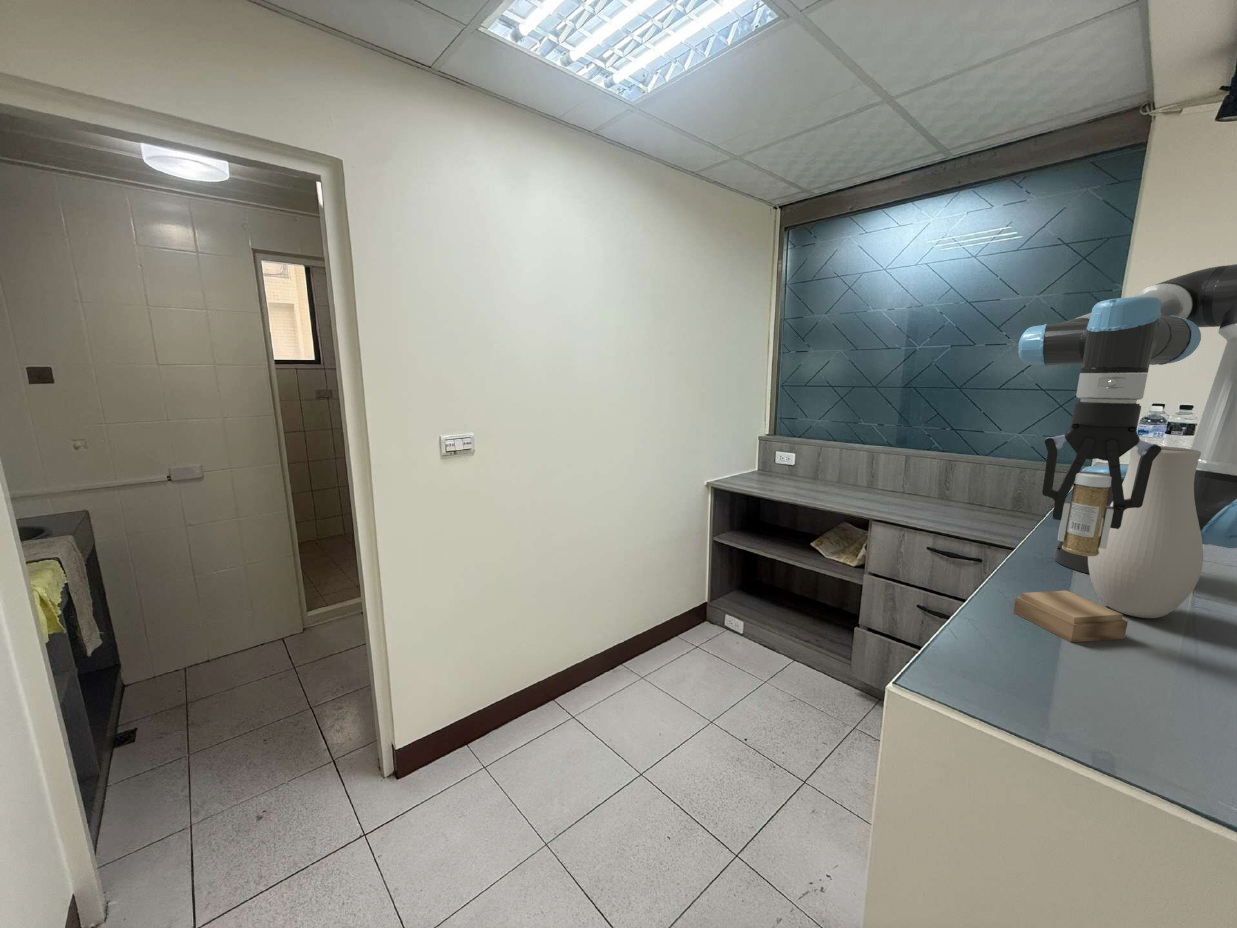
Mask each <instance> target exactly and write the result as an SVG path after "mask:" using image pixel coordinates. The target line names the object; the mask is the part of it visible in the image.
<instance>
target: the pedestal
mask: <svg viewBox="0 0 1237 928" xmlns="http://www.w3.org/2000/svg"><path fill="white" fill-rule="evenodd" d="M1014 600H1015V602H1014V607H1013V614H1015V615H1016V616H1019V617H1021V618H1023V619H1025V620H1026V621H1028V622H1031V623H1032V624H1034V625H1037V626H1038V627H1040V628H1042V629H1044V630H1046V631H1048V632H1050V633H1052V634H1053V635H1055V636H1058V637H1060V638H1061V639H1063V640H1065V641H1067V642H1069V643H1082V642H1083V643H1085V642H1093V641H1094V642H1096V641H1110V640H1120V639H1125V637H1126V632H1127V628H1128V627H1127V626H1128V623H1129V622H1128V621H1127V620H1125V619H1123V616H1124V614H1123V613H1120V612H1118V611H1116V610H1113V609H1112V608H1110V607H1109V608H1108V607H1106V606H1104V605H1102V604H1099V603H1097V602H1094V601H1092V600H1090V599H1087V598H1085V597H1082V596H1080V595H1077V594H1075V593H1073V592H1070V591H1069V590H1052V591H1048V590H1047V591H1036V592H1035V591H1033V592H1032V591H1031V592H1021V596H1016V597H1015V599H1014Z"/></svg>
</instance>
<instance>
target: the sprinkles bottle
mask: <svg viewBox="0 0 1237 928" xmlns="http://www.w3.org/2000/svg"><path fill="white" fill-rule="evenodd" d="M1111 479H1112V477H1111V476H1110V475H1109V474H1105V473H1098V472H1087V471H1081V470H1080V471H1079V473H1077V474H1076V477H1075V481H1074V483H1073V485H1072V487H1073V488H1072V492H1071V497H1070V500H1069V501H1070V509H1069V514H1068V520H1067V525H1066V531H1065V538H1064V544H1063V546H1062V549H1063V550H1065V551H1067V552H1069V553H1072V554H1076V555H1081V556H1097V555H1098V554H1099V544H1100V539H1101V536H1102V531H1103V525H1104V520H1105V518H1104V517H1105V511H1106V506H1107V501H1108V493H1109V490H1110V487H1111Z"/></svg>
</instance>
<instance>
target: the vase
mask: <svg viewBox="0 0 1237 928" xmlns="http://www.w3.org/2000/svg"><path fill="white" fill-rule="evenodd" d="M1159 446H1160V447H1161V449H1162V450H1161V452H1160V453H1159V454H1158V455H1157V457H1156V458H1155V459H1154V460H1153V462H1152V467H1151V471H1150V475H1149V479H1148V484H1147V488H1146V492H1145V496H1144V500H1143V505H1142V506H1141V507H1139V508H1128V509H1126V510H1124V512H1123V517H1122V522H1121V527H1120V528H1119V529H1114V528H1110V532H1109V537H1108V542H1107V547H1106V549H1103V548H1099V554H1098V555H1097V556H1088V567H1089V573H1090V574H1089V577H1090V580H1091V584H1092V586H1093V589H1094V591H1095V593H1096V594H1097V596H1098V598H1099V600H1100V601H1101V602H1103V603H1104V605H1106V606H1107V608H1108V607H1109V609H1111V610H1114V611H1116V612H1118V613H1121V614H1123V615H1127V616H1130V617H1135V618H1142V619H1157V618H1161V617H1165V616H1167V615H1168V614H1170V613H1172V612H1173V611H1175V610H1176V609H1177V608H1179V606H1180V605H1181V604H1183V603H1184V602H1185V601H1186V600H1187V598H1188V597H1189V596H1190V595H1191V594H1192V592H1193V590H1195V588H1196V586H1197V583H1198V581H1199V580H1200V577H1201V574H1202V570H1203V564H1204V563H1203V562H1204V544H1202V537H1201V531H1200V527H1199V522H1198V517H1197V512H1196V507H1195V500H1194V477H1195V472H1196V468H1197V464H1198V461H1199V459H1200V456H1201V452H1200V451H1197V450H1193V449H1191V448H1186V447H1185V448H1184V447H1177V446H1176V447H1175V446H1164V445H1163V446H1162V445H1159ZM1129 451H1130V454H1129V462H1128V470H1127V473H1126V476H1125V479H1124V481H1123V483H1122V486H1123V494H1124V499H1130V498H1131V494H1132V490H1133V485H1134V481H1135V477H1136V472H1137V468H1138V464H1139V460H1140V457H1141V456H1140V455H1139V454H1138V453H1137V451H1138V447H1137V446H1134V447H1133V448H1132V449H1130V450H1129ZM1110 506H1113V502H1112V503H1111V505H1110Z"/></svg>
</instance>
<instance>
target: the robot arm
mask: <svg viewBox="0 0 1237 928" xmlns="http://www.w3.org/2000/svg"><path fill="white" fill-rule="evenodd" d="M1210 327H1211V328H1213V327H1214V328H1215V327H1219V328H1218V332H1217V333H1218V334H1219V335H1220V336H1221V337H1222V338H1224V339H1225V340H1226V344H1225V347H1224V350H1223V352H1222V356H1221V359H1220V362H1219V363H1218V368H1217V370H1216V373H1215V377H1214V380H1213V383H1212V385H1211V389H1210V391H1209V394H1208V397H1207V400H1206V403H1205V406H1204V410H1203V412H1202V414H1201V418H1200V420H1199V421H1200V422H1199V424H1198V426H1197V430H1196V433H1195V436H1194V438H1193V442H1192V445H1191V447H1190V449H1193V450H1197V451H1200V452H1201V456H1200V459H1199V461H1198V464H1197V468H1196V472H1195V477H1194V500H1195V507H1196V512H1197V517H1198V522H1199V527H1200V531H1201V537H1202V544H1203V546H1204V545H1205V546H1206V545H1209V546H1210V545H1211V546H1216V547H1222V548H1226V549H1237V263H1235V264H1228V265H1227V264H1226V265H1218V266H1213V267H1208V268H1204V269H1200V270H1195V271H1192V272H1189V273H1185V274H1182V275H1179V276H1177V277H1173V278H1170V279H1168V280H1165V281H1162V282H1159V283H1156V284H1153V285H1150V286H1148V287H1145V288H1143V289H1142V290H1140V291H1139V292H1138V293H1136V294H1135V295H1134V296H1132V297H1131V296H1130V297H1119V298H1111V299H1106V300H1101V301H1099V302H1097V303H1096V304H1095V305H1093V307H1092V309H1091V312H1089V313H1087V314H1084V315H1083V314H1082V315H1081V316H1078V317H1076V318H1072V319H1067V320H1066V321H1062V322H1058V323H1053V324H1050V323H1044V324H1042V325H1034V326H1030V327H1028V328H1027V329H1026V330H1025V331H1024V332H1023V333H1022V335H1021V336H1020V339H1019V341H1018V357H1019V359H1020V360H1021V362H1022V363H1024V364H1026V365H1028V366H1042V367H1047V366H1071V365H1072V366H1073V365H1077V366H1078V365H1080V366H1081V368H1080V373H1079V377H1078V382H1077V389H1076V395H1075V397H1076V398H1077V399H1080V400H1079V401H1076V403H1074V405H1073V411H1072V417H1071V423H1070V427H1069V428H1068V430H1067V431H1066V432H1065V434H1062V435H1058V436H1048V437H1046V438H1045V440H1044V445H1045V447H1046V450H1047V457H1046V463H1045V470H1044V476H1043V484H1042V492H1041V493H1042V495H1043V496H1045V497H1048V498H1050V499H1052V500H1053V501H1054V506H1053V510H1052V519H1053V520H1055V521H1060V524H1059V528H1058V533H1057V534H1058V535H1057V541H1059V543H1058V545H1057V546H1056V547H1055V549H1054V552H1053V553H1054V555H1053V560H1054V561H1055V562H1057V563H1058V564H1060V565H1062V566H1064V567H1067V568H1068V569H1072V570H1075V571H1077V572H1081V573H1085V574H1088V575H1090V573H1089V567H1088V556H1081V555H1076V554H1072V553H1069V552H1067V551H1065V550H1063V549H1062V546H1063V544H1064V538H1065V532H1066V525H1067V520H1068V514H1069V509H1070V501H1071V500H1066V499H1067V497H1068V495H1069V494H1070V491H1071V489H1072V487H1073V484H1074V481H1075V477H1076V474H1077V473H1079V471H1087V472H1098V473H1105V474H1109V475H1110V476H1111V477H1112V479H1111V487H1110V490H1109V493H1108V501H1107V506H1106V511H1105V517H1104V518H1105V520H1104V525H1103V531H1102V536H1101V539H1100V544H1099V548H1103V549H1106V547H1107V542H1108V537H1109V532H1110V528H1114V529H1119V528H1120V527H1121V522H1122V517H1123V512H1124V510H1126V509H1128V508H1139V507H1141V506H1142V505H1143V500H1144V496H1145V492H1146V488H1147V484H1148V479H1149V475H1150V471H1151V467H1152V462H1153V460H1154V459H1155V458H1156V457H1157V455H1158V454H1159V453H1160V452H1161V450H1162V449H1161V447H1160V446H1161V445H1159V444H1157V443H1151V442H1147V441H1144V440H1142V439H1141V438H1140V436H1139V434H1138V426H1139V420H1140V414H1141V411H1142V405H1141V403H1137V402H1138V401H1139V400H1142V399H1144V396H1145V391H1146V390H1145V388H1146V384H1147V378H1148V373H1149V368H1150V366H1154V365H1155V366H1157V365H1160V366H1162V365H1167V364H1173V363H1176V362H1177V363H1178V362H1180V361H1182V360H1184V359H1186V358H1187V357H1189V356H1191V355H1192V354H1193V353H1194V352H1195V351H1196V350H1197V349H1198V347H1199V346H1200V343H1201V340H1202V333H1201V330H1200V328H1210ZM1065 442H1067V443H1068V444H1069V446H1070V447H1071V449H1073V451H1074V452H1075V456H1074V458H1073V460H1072V462H1071V465H1070V466H1069V468H1068V469H1067V472H1066V474H1065V477H1064V479H1063V480H1062V483H1061V484H1060V486H1059V489H1058V490H1056V489H1054V488H1053V487H1054V480H1055V474H1056V467H1057V459H1058V455H1059V454H1058V452H1059V450H1061V449H1062V448H1063V446H1064V445H1063V444H1064V443H1065ZM1134 446H1137V447H1138V451H1137V453H1138V454H1139V455H1140V456H1141V457H1140V460H1139V464H1138V468H1137V472H1136V477H1135V481H1134V485H1133V490H1132V494H1131V498H1130V499H1124V494H1123V486H1122V483H1123V481H1124V479H1125V476H1126V473H1127V470H1128V466H1129V464H1127V465H1126V464H1125V465H1123V464H1122V465H1121V461H1120V458H1121V457H1122V456H1123V455H1125V454H1126V453H1128V452H1129V451H1130V450H1131V449H1132V448H1133V447H1134ZM1096 459H1098V460H1101V461H1106V462H1107V465H1103V464H1102V465H1091V466H1090V465H1089V466H1086V467H1084V468H1082V467H1083V465H1084V464H1085V462H1086V460H1096ZM1081 469H1082V470H1081ZM1112 502H1113V506H1110V505H1111V503H1112Z"/></svg>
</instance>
